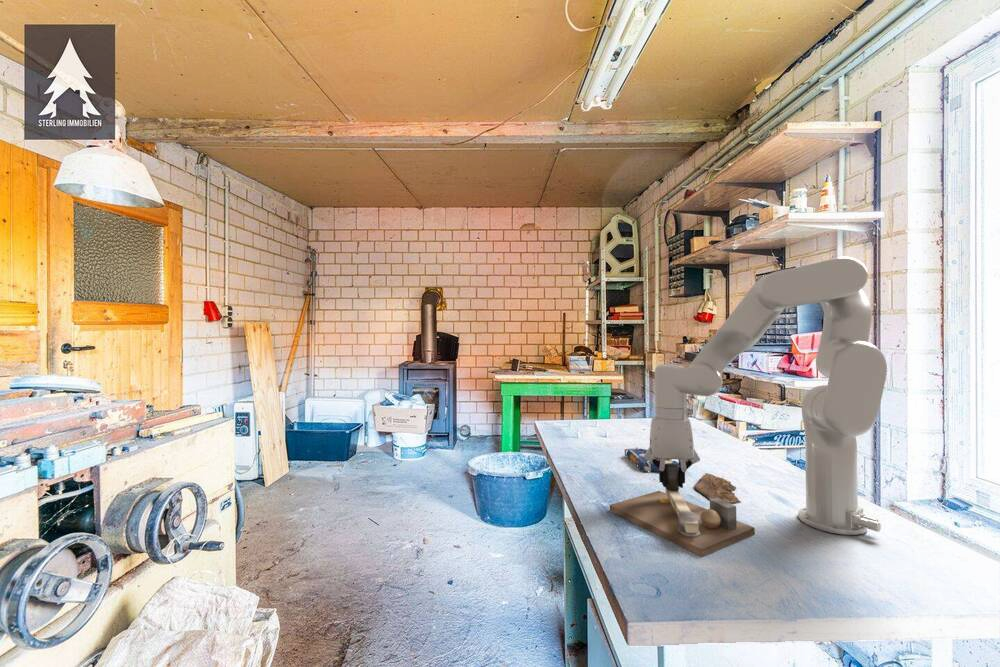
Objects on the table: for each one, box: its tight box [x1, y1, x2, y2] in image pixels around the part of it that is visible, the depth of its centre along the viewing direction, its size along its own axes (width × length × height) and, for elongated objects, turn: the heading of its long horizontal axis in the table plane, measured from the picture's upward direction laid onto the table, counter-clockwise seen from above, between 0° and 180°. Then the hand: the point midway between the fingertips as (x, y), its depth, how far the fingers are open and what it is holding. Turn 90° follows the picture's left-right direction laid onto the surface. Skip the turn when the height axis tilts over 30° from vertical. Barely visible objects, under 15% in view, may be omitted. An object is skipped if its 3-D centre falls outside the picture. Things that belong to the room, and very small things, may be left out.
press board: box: [609, 490, 756, 558], centre depth 103 cm, size 26×18×6 cm
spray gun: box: [624, 446, 679, 473], centre depth 147 cm, size 21×4×15 cm
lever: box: [664, 463, 699, 533], centre depth 102 cm, size 22×4×8 cm, turn 170°
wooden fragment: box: [693, 472, 742, 505], centre depth 124 cm, size 26×11×1 cm, turn 158°
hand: (672, 484), depth 111 cm, fingers closed on lever, 3 cm apart
